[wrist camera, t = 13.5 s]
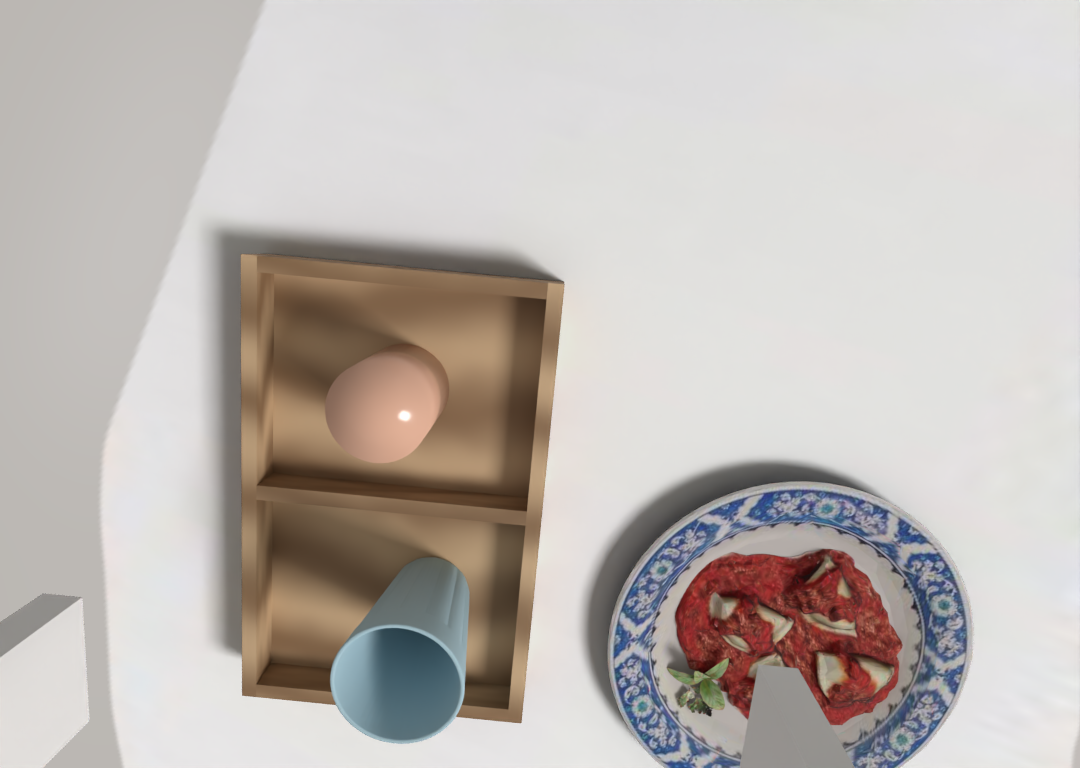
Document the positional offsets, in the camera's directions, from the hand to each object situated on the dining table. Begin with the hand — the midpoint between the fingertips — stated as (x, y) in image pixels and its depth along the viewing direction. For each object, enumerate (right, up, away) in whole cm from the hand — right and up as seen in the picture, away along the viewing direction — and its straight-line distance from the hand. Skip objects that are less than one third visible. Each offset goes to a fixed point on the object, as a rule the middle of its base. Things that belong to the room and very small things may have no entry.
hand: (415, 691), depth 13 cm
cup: (-5, -9, +35) cm, 36 cm away
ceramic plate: (+20, -13, +36) cm, 43 cm away
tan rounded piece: (-7, +6, +31) cm, 33 cm away
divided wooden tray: (-7, -1, +34) cm, 35 cm away
